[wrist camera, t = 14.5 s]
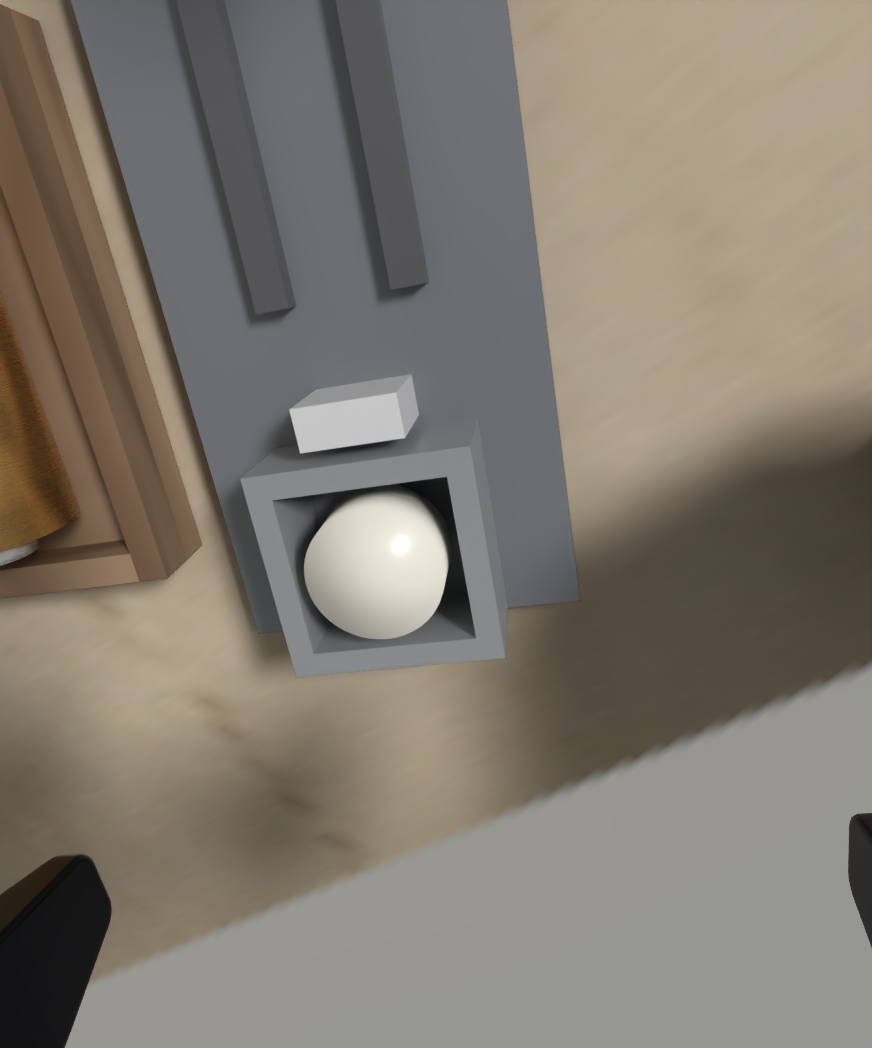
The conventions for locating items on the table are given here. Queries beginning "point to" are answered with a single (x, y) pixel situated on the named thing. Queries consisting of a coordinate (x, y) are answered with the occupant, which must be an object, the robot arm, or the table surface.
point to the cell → (27, 458)
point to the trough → (79, 347)
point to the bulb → (379, 562)
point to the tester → (348, 289)
